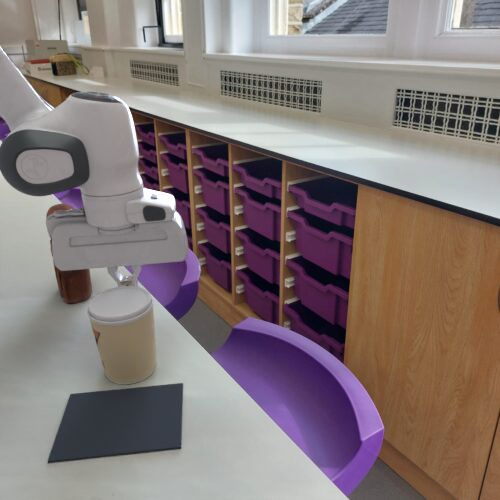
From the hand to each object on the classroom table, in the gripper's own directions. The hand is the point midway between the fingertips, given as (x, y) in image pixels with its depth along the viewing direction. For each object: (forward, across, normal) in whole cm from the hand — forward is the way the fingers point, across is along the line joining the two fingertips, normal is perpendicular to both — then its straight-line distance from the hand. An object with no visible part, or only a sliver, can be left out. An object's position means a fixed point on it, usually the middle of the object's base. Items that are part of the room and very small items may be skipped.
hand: (128, 288), depth 78 cm
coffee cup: (+10, 0, -8) cm, 13 cm away
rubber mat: (+10, 0, -19) cm, 21 cm away
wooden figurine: (+10, -14, +19) cm, 26 cm away
